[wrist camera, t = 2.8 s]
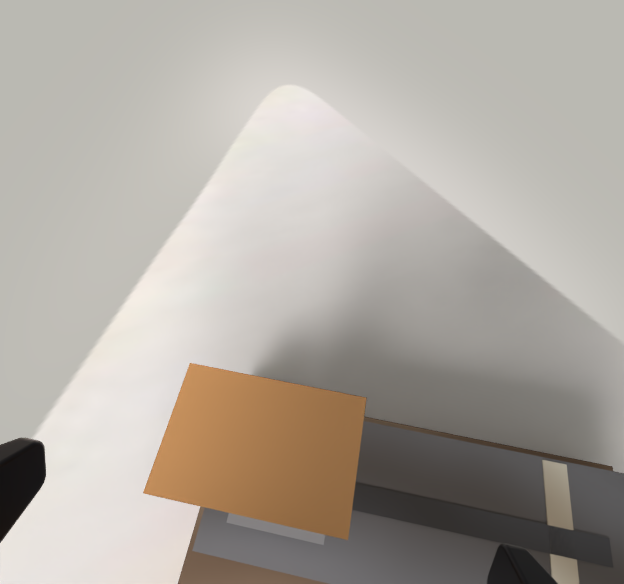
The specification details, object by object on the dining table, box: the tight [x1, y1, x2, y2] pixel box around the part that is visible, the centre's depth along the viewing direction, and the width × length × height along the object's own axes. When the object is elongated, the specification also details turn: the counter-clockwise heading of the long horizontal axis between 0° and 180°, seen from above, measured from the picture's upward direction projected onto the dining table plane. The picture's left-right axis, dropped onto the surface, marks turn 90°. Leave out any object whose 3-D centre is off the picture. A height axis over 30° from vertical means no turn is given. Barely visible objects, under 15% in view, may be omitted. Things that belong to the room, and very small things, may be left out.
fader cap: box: [143, 363, 366, 545], centre depth 10 cm, size 3×3×8 cm
